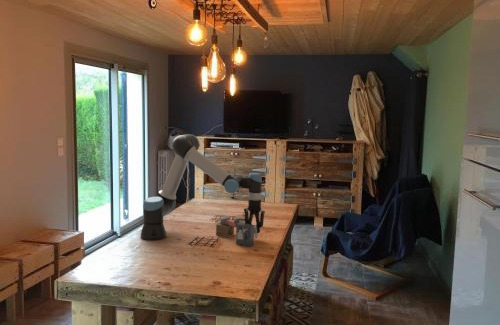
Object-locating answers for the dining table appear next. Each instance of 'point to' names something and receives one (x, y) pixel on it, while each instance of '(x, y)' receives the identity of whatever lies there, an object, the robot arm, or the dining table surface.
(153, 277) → the dining table surface
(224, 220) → the ball ended rod
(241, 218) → the lidded jar
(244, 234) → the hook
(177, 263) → the dining table surface
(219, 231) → the tan square block
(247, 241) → the dark boxy piece
